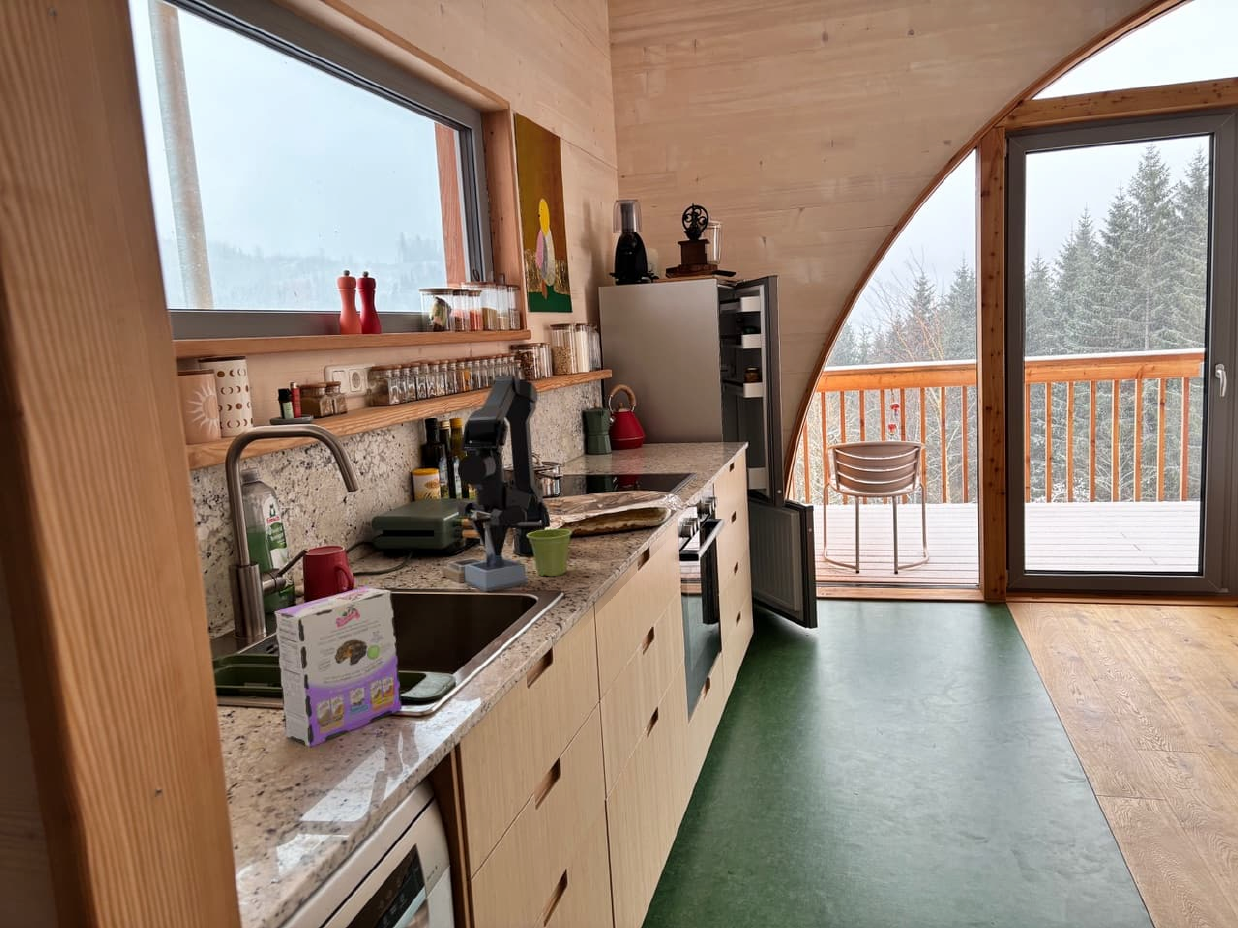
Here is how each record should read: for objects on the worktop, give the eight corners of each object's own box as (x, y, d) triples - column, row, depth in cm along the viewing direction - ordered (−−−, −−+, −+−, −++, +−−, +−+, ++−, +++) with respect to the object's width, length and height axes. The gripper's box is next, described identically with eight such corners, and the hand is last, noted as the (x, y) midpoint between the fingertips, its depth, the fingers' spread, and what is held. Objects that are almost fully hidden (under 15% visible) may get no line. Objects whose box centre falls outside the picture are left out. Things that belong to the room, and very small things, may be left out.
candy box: (376, 701, 126) (367, 583, 124) (403, 710, 122) (393, 589, 120) (284, 737, 115) (271, 609, 113) (310, 748, 111) (298, 616, 109)
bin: (504, 576, 194) (503, 557, 193) (526, 583, 186) (525, 564, 186) (466, 584, 188) (464, 564, 188) (486, 592, 181) (485, 572, 181)
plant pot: (537, 581, 188) (535, 539, 187) (523, 572, 196) (521, 532, 195) (580, 574, 192) (578, 533, 191) (564, 566, 200) (562, 526, 199)
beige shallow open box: (476, 569, 201) (475, 556, 200) (494, 575, 194) (493, 561, 194) (442, 576, 196) (441, 562, 196) (459, 582, 190) (458, 568, 189)
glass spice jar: (482, 565, 187) (479, 522, 186) (498, 562, 189) (495, 519, 188) (491, 568, 184) (488, 524, 183) (506, 565, 187) (504, 521, 185)
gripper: (547, 476, 182) (552, 553, 184) (502, 469, 197) (506, 540, 199) (497, 483, 175) (502, 563, 177) (454, 475, 190) (459, 549, 192)
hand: (494, 553), depth 187 cm, fingers closed on glass spice jar, 3 cm apart
